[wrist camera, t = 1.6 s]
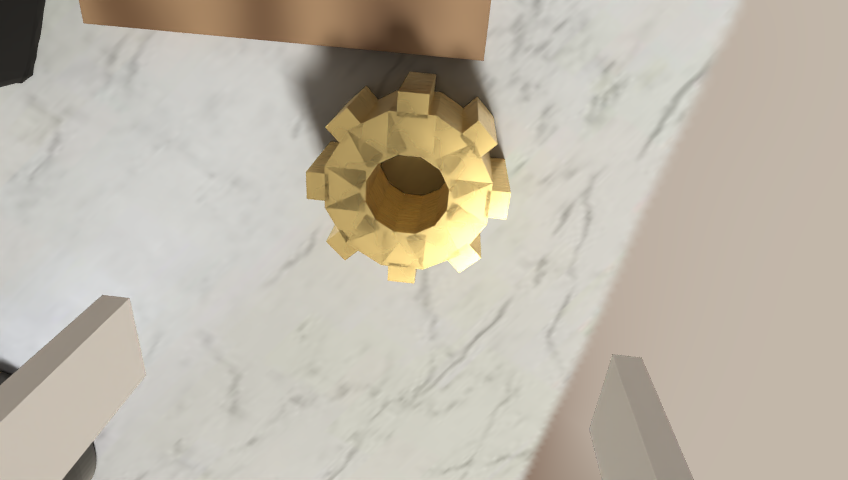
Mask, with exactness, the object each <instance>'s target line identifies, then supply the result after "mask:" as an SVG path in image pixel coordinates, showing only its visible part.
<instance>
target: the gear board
mask: <svg viewBox="0 0 848 480" xmlns="http://www.w3.org/2000/svg"><path fill="white" fill-rule="evenodd" d="M79 3H80V8H81V13H82V18H83V23H86V24H97V25H108V26H118V27H129V28H140V29H150V30H161V31H172V32H182V33H193V34H204V35H214V36H225V37H236V38H246V39H257V40H268V41H278V42H289V43H300V44H310V45H321V46H332V47H342V48H353V49H364V50H374V51H385V52H396V53H406V54H417V55H427V56H438V57H449V58H459V59H470V60H481V61H484V53H485V45H486V37H487V29H488V21H489V13H490V5H491V0H79Z"/></svg>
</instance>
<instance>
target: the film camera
mask: <svg viewBox="0 0 848 480" xmlns="http://www.w3.org/2000/svg"><path fill="white" fill-rule="evenodd" d="M44 6H45V0H0V87H3V86H7V85H11V84H15V83H23V82H24V81H25V80H27V79H28V78H29V77H31V76H32V75H33V68H34V64H35V60H36V56H37V48H38V43H39V39H40V35H41V28H42V20H43V11H44Z"/></svg>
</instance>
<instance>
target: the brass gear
mask: <svg viewBox="0 0 848 480" xmlns="http://www.w3.org/2000/svg"><path fill="white" fill-rule="evenodd" d="M435 83H436V74H430V73H420V72H409V73H408V75H407V77H406V79H405V80H404V82H403V84H402V85H401V87H400V89H399V90H397V91H395V92H393V93H391V94H389V95H387V96H385V97H382V98H380V99H377V98H376V96H375V95H374V94H373V93H372V92H371V91H370V90H369V88H368V87H367V86H365V87H364V88H363V89H362V90H361V91H360V92H359V93H358V94H356V95H355V96H354V97H353V98H352V99H351V100H350V101H349V102H348V103H347V104H346V105H345V106H344V107H343V108H342V109H341V110H340V111H339V113H338V114H337V115H336V116H335V117H334V118H333V119H332V120H331V121H330V122H329V123H328V125H327V126H326V127H325V128H326V129H327V130H328V131H329V132H330V133H331V134H332V135H333V136H334V137H335V139H336V140H337V141H338V142H330V143H329V144H328V145H327V147H326V148H325V149H324V150H323V152H322V153H321V154H320V155H319V156H318V158H317V159H316V160H315V161H314V163H313V164H312V165H311V166H310V168H309V169H308V170H307V171H306V187H307V199H314V200H324V201H325V208H326V210H327V212H328V213H329V215H330V217H331V218H332V220H333V222H334V223H335V226H334V228H333V229H332V231H331V233H330V235H329V237H328V239H327V241H326V242H327V243H328V244H329V245H330V246H331V247H332V248H333V249H334V250H335V251H336V252H337V253H338V254H339V255H340V256H341V257H342V258H343V259H344V260H346V259H348V258H349V257H350V256H352V255H353V254H354V253H355V252H357V251H360V252H361V253H363V254H365V255H366V256H368V257H369V258H371V259H373V260H374V261H376V262H377V263H379V264H381V265H386V266H388V281H397V282H406V283H414V282H415V276H416V270H417V269H425V268H428V267H430V266H433V265H436V264H438V263H441V262H444V261H446V260H448V261H449V262H450V263H451V264H452V265H453V266H454V268H455V269H456V270H457V271H458V272H459V273H460V272H461V271H462V270H464V269H465V268H467V267H468V266H470V265H471V264H473V263H474V262H476V261H477V260H479V259H480V258H481V246H480V232H481V231H482V229H483V228H484V227H485V226H486V225H487V219H488V218H497V219H506V218H507V212H508V206H509V200H510V194H511V192H510V186H509V181H508V175H507V169H506V164H505V159H501V158H491V157H490V151H489V150H491V149H492V148H493V147H495V146H496V145H497V137H496V130H495V124H494V117H493V116H492V114H491V113H490V112H489V111H488V109H487V108H486V107H485V105H484V104H483V103H482V102H481V100H480V99H479V98H478V97H476V98H475V99H474V100H472V101H471V102H470V103H469V104H467V105H466V106H465V107H464V108H463V107H462V106H460V105H459V104H457V103H456V102H455V101H453V100H452V99H450V98H449V97H448V96H446V95H445V94H444V93H442V92H435ZM397 155H404V156H414V157H421V158H423V159H424V160H426V161H427V162H429V163H430V164H432V165H433V166H434V167H436V168H437V169H439V170H440V172H441V174H442V176H443V178H444V180H445V182H444V184H443V185H442V186H441V188H440V189H438V190H435V191H433V192H430V193H428V194H426V195H423V196H422V195H413V194H404V193H403V192H401V191H400V190H398V189H397V188H395V187H394V186H392V185H391V184H389V182H388V180H387V178H386V176H385V174H384V172H383V171H382V169H381V162H383V161H385V160H388V159H390V158H392V157H394V156H397Z"/></svg>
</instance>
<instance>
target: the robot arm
mask: <svg viewBox="0 0 848 480" xmlns="http://www.w3.org/2000/svg"><path fill="white" fill-rule="evenodd" d="M145 376H146V371H145V367H144V362H143V358H142V353H141V348H140V344H139V339H138V335H137V330H136V325H135V321H134V316H133V312H132V307H131V302H130V298H124V297H115V296H107V295H102V296H101V297H100V298H99V299H97V300H96V301H95V302H94V303H93V304H92V305H91V306H89V307H88V308H87V309H86V310H85V311H84V312H83V313H82V314H80V315H79V316H78V317H77V318H76V319H75V320H74V321H72V322H71V323H70V324H69V325H68V326H67V327H66V328H65V329H63V330H62V331H61V332H60V333H59V334H58V335H57V336H55V337H54V338H53V339H52V340H51V341H50V342H49V343H47V344H46V345H45V346H44V347H43V348H42V349H41V350H40V351H38V352H37V353H36V354H35V355H34V356H33V357H32V358H30V359H29V360H28V361H27V362H26V363H25V364H24V365H23V366H21V367H20V368H19V369H18V370H17V371H16V372H15V373H13V374H12V375H10V374H7V373H4V372H1V371H0V480H91V479H92V477H93V475H94V472H95V469H96V454H95V450H94V446H93V444H92V442H93V441H94V439H95V438H96V437H97V436H98V434H99V433H100V432H101V431H102V430H103V428H104V427H105V426H106V425H107V423H108V422H109V421H110V420H111V418H112V417H113V416H114V415H115V413H116V412H117V411H118V410H119V408H120V407H121V406H122V405H123V403H124V402H125V401H126V400H127V398H128V397H129V396H130V395H131V393H132V392H133V391H134V390H135V388H136V387H137V386H138V385H139V384H140V382H141V381H142V380H143V379H144V377H145ZM589 430H590V434H591V438H592V442H593V447H594V451H595V455H596V459H597V463H598V467H599V471H600V475H601V478H602V480H694V479H693V477H692V474H691V472H690V470H689V467H688V465H687V463H686V460H685V458H684V456H683V453H682V451H681V449H680V446H679V444H678V442H677V439H676V437H675V435H674V432H673V430H672V427H671V425H670V423H669V420H668V418H667V416H666V413H665V411H664V409H663V406H662V404H661V402H660V399H659V397H658V395H657V392H656V390H655V388H654V385H653V383H652V381H651V378H650V376H649V373H648V371H647V369H646V366H645V364H644V362H643V359H642V358H640V357H631V356H622V355H614V354H612V358H611V361H610V364H609V367H608V370H607V374H606V377H605V380H604V383H603V387H602V390H601V393H600V396H599V400H598V403H597V406H596V409H595V412H594V416H593V419H592V422H591V425H590V428H589Z"/></svg>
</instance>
